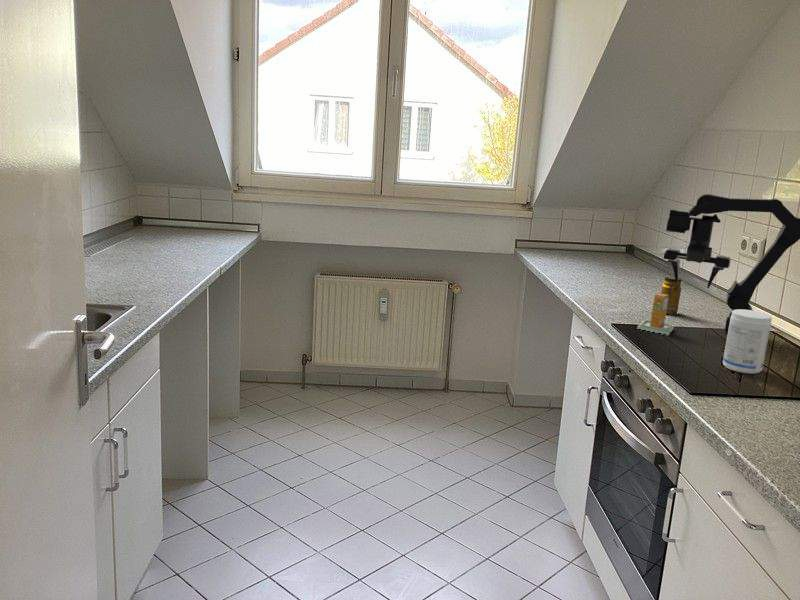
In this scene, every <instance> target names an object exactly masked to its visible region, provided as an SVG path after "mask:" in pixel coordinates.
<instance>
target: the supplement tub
mask: <svg viewBox="0 0 800 600" xmlns="http://www.w3.org/2000/svg"><path fill="white" fill-rule="evenodd" d="M731 312H732V315H731V318H730V324H729V329H728V334H726V340H725V347H724V352H723V358H722V364H723V366H724V367H725V368H727V369H728V370H731V371H734V372H736V373H737V372H738V373H742V374H748V375H749V374H750V375H751V374H754V375H755V374H759V373H761V372H762V370H763V368H764V364H765V363H764V362H765V358H766V352H767V348H768V342H769V338H770V337H769V336H770V333H771V327H772V320H773V319H772V318H773V317H772V315H770V314H768V313H765V312H761V311H757V310H753V311H752V310H744V309H737V310H733V311H732V310H731Z"/></svg>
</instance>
